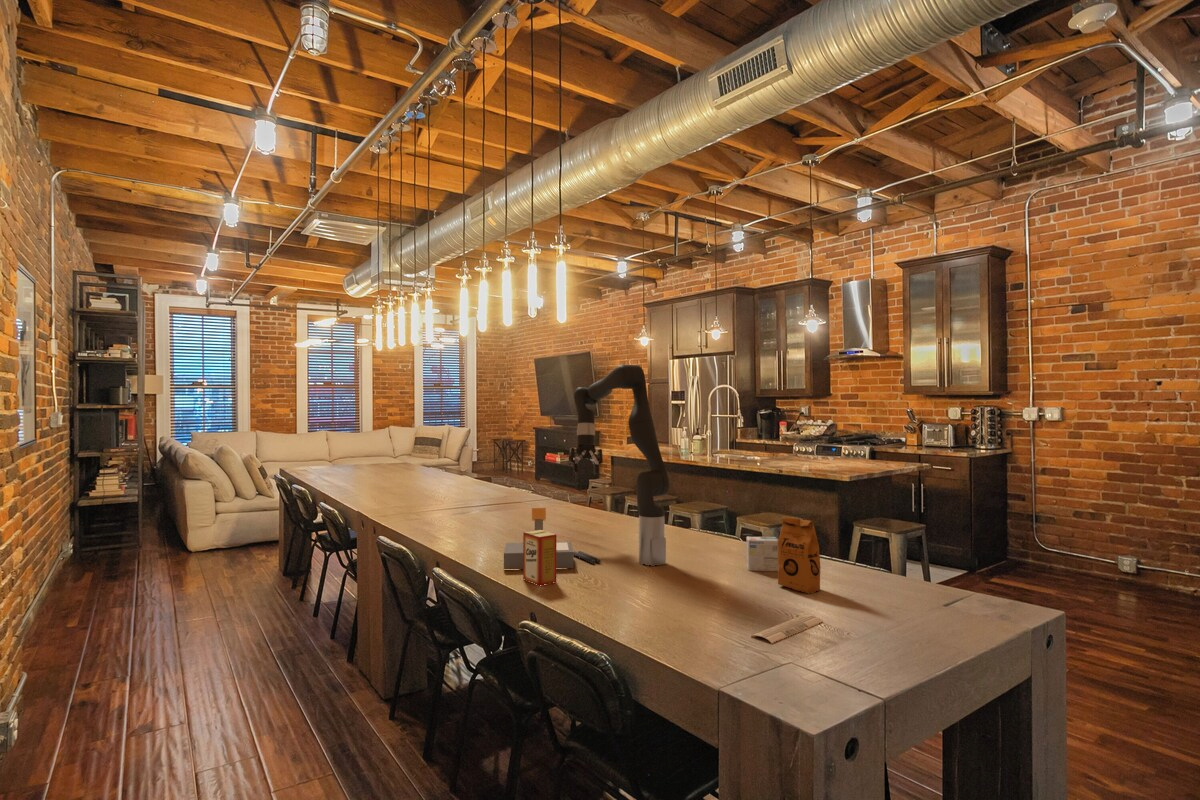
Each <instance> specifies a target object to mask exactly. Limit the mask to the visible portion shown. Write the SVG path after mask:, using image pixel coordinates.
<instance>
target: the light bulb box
mask: <svg viewBox="0 0 1200 800" xmlns="http://www.w3.org/2000/svg"><path fill="white" fill-rule="evenodd" d="M745 539H746V567H747V570H748V571H752V572H753V571H754V572H778V571H779V569H778V539H779V538H777V536H746V537H745Z"/></svg>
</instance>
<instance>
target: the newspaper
mask: <svg viewBox="0 0 1200 800" xmlns="http://www.w3.org/2000/svg"><path fill="white" fill-rule="evenodd" d="M821 622H822V623H824V620H822V619H821V618H820V617H819V616H815V615H813V614H802V615H799V616H797V617H795V618H792V619H788V620H787V621H784V622H781V623H780V624H777V625H774V626H771V627H769V628H767V629H764V630H761V631H759V632H757V633H754V634H751V636H750V638H756V637H760V638H764V639H766V640H768V642H769V643H770V644H771V645H773V644H775V643H777V642H776V641H778V642H779V640H780V641H782V640H784V638H785V639H786V637H787V638H789V637H792V636H794V635H796V634H799V633H801V632H803V630H804V631H805V629H806V630H807V629H810V627H811V628H812V626H813V627H815V626H818V625H819V623H820V624H822V623H821ZM817 624H818V625H817ZM798 632H799V633H798ZM795 633H796V634H795ZM793 634H794V635H793ZM791 635H792V636H791ZM788 636H789V637H788ZM781 639H782V640H781ZM774 642H775V643H774ZM772 643H773V644H772Z"/></svg>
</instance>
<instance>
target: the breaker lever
mask: <svg viewBox="0 0 1200 800" xmlns="http://www.w3.org/2000/svg"><path fill="white" fill-rule="evenodd" d="M546 511H547V508H546V507H534V508H531V522H534V531H535V530H544V521H546V519H547V513H546Z"/></svg>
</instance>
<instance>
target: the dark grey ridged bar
mask: <svg viewBox="0 0 1200 800" xmlns="http://www.w3.org/2000/svg"><path fill="white" fill-rule="evenodd" d="M573 555H575V556H574V557H576V556H578V557H580V558H582V559H584V560H586V561H585V562H587V561H588V562H587V563H589V562H590V563H589V564H591V563H593V564H592V565H595V564H601V562H602V561H601V559H600V558H599V557H596V556H594V555H591V554H589V553H586V552H584V551H581V550H579V551H578V552H577V551H573ZM578 557H577V558H578ZM580 558H579V559H580ZM582 559H581V560H582ZM584 560H583V561H584ZM596 562H597V563H596ZM594 563H595V564H594Z"/></svg>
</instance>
